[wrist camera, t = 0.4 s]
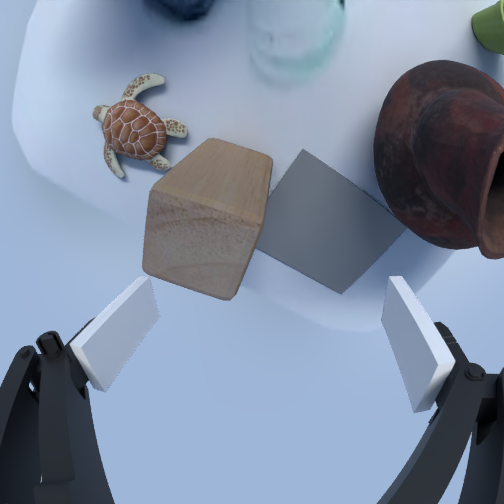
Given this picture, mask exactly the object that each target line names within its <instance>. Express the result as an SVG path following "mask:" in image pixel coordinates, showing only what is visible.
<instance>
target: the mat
mask: <svg viewBox="0 0 504 504" xmlns="http://www.w3.org/2000/svg"><path fill="white" fill-rule="evenodd" d="M406 228H407V227H406V226H405V225H404V224H403V223H402V222H400V221H399V220H398V219H397V218H396V217H394V216H393V215H392V214H391V213H390V212H388V211H387V210H386V209H385V208H384V207H382V206H381V205H380V204H379V203H377V202H376V201H375V200H374V199H372V198H371V197H370V196H368V195H367V194H366V193H365V192H363V191H362V190H361V189H359V188H358V187H357V186H355V185H354V184H353V183H351V182H350V181H349V180H347V179H346V178H345V177H343V176H342V175H340V174H339V173H338V172H336V171H335V170H333V169H332V168H330V167H329V166H328V165H326V164H325V163H323V162H322V161H320V160H319V159H317V158H316V157H314V156H313V155H311V154H310V153H308V152H307V151H305V150H304V149H302V151H301V152H300V154H299V155H298V156H297V158H296V159H295V161H294V162H293V164H292V165H291V166H290V168H289V169H288V171H287V172H286V174H285V175H284V176H283V178H282V179H281V181H280V182H279V184H278V185H277V187H276V188H275V189H274V191H273V192H272V194H271V195H270V197H269V198H268V200H267V207H266V214H265V221H264V227H263V230H262V233H261V235H260V238H259V240H258V242H257V245H256V247H255V248H257V249H259V250H261V251H263V252H265V253H267V254H268V255H270V256H272V257H274V258H276V259H278V260H279V261H281V262H283V263H285V264H287V265H289V266H290V267H292V268H294V269H296V270H298V271H300V272H301V273H303V274H305V275H307V276H309V277H311V278H312V279H314V280H316V281H318V282H320V283H321V284H323V285H325V286H327V287H329V288H331V289H332V290H334V291H336V292H338V293H340V294H342V293H343V292H344V291H345V290H346V289H347V288H348V287H350V286H351V285H352V284H353V283H354V282H355V281H356V280H357V279H358V278H359V277H360V276H361V275H362V274H363V273H364V272H365V271H366V270H367V269H368V268H369V267H370V266H371V265H372V264H373V263H374V262H375V261H376V260H377V259H378V258H379V257H380V256H381V255H382V254H383V253H384V252H385V251H386V250H387V249H388V248H389V247H390V246H391V245H392V244H393V242H394V241H395V240H396V239H397V238H398V237H399V236H400V235H401V234H402V233H403V232H404V231H405V230H406Z"/></svg>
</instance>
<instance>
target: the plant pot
mask: <svg viewBox="0 0 504 504" xmlns="http://www.w3.org/2000/svg"><path fill="white" fill-rule="evenodd" d="M472 27H473V31H474V33H475V35H476V37H477V39H478V40H479V42H480V43H481V44H482V45H483V46H484V47H485V48H487V49H488V50H490V51H492V52H495V53H499V54H502V55H504V0H500V1H498V2H497V3H496V4H495V5H492V6H490V7H488V8H486V9H484V10H482V11H480V12H478V13H476V14H474V16H473V17H472Z"/></svg>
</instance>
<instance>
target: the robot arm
mask: <svg viewBox="0 0 504 504" xmlns="http://www.w3.org/2000/svg"><path fill="white" fill-rule="evenodd" d="M159 317H160V315H159V311H158V308H157V304H156V300H155V296H154V293H153V289H152V285H151V281H150V277H138V278H137V279H136V280H135V281H133V283H131V284H130V285H129V286H128V287H127V288H126V289H125V290H124V291H123V292H122V293H121V294H120V295H119V296H118V297H116V298H115V299H114V300H113V301H112V302H111V303H110V304H109V305H108V306H107V307H106V308H105V309H104V310H103V311H102V312H101V313H100V314H99V315H98V316H97V317H95V318H93V319H92V320H90V321H89V322H88V323H87V324H86V325H85V326H84V328H82V329H81V330H80V332H78V333H77V334H76V335H75V336H74V337H73V338H72V339H71V340H70V341H69V342H68V343H67V344H66V345H65V346H64V344H63V342H62V340H61V339H60V336H59V334H58V333H57V332H56V331H49V332H46V333H44V334H42V335H41V336H40V337H39V338H38V339H37V341H36V344H37V346H38V348H39V349H40V351H41V353H42V354H37V352H36V350H35V348H34V347H33V346H30V345H29V346H24V347H22V348H21V349H20V350H19V351H18V352H17V353H16V355H15V357H14V359H13V361H12V363H11V365H10V367H9V370H8V372H7V374H6V376H5V378H4V380H3V382H2V384H1V387H0V504H115V503H114V500H113V497H112V494H111V492H110V488H109V485H108V482H107V479H106V475H105V472H104V468H103V464H102V461H101V457H100V453H99V448H98V445H97V439H96V435H95V430H94V424H93V419H92V413H91V406H90V399H89V393H88V388H87V386H86V383H87V381H88V380H89V381H90V383H91V384H92V386H93V388H94V389H97V390H100V391H103V392H106V391H107V390H108V388H109V386H110V385H111V384H112V382H113V381H114V380H115V378H116V377H117V375H118V374H119V372H120V371H121V370H122V368H123V367H124V365H125V364H126V363H127V361H128V360H129V358H130V357H131V356H132V354H133V353H134V351H135V350H136V349H137V347H138V346H139V344H140V343H141V342H142V340H143V339H144V338H145V336H146V335H147V333H148V332H149V331H150V329H151V328H152V327H153V325H154V324H155V323H156V321H157V320H158V319H159ZM381 321H382V324H383V326H384V328H385V331H386V333H387V336H388V339H389V341H390V344H391V346H392V349H393V352H394V354H395V357H396V360H397V363H398V366H399V369H400V371H401V374H402V377H403V380H404V383H405V386H406V389H407V392H408V396H409V399H410V402H411V405H412V409H413V412H414V413H416V412H422V411H426V410H430V409H431V407H432V405H433V403H434V402H435V401H436V404H437V406H438V409H437V410H436V412H435V413H434V415H433V416H432V418H431V419H430V421H429V425H428V427H427V429H426V431H425V433H424V435H423V436H422V438H421V440H420V442H419V443H418V445H417V447H416V449H415V450H414V452H413V454H412V455H411V457H410V458H409V460H408V461H407V463H406V465H405V466H404V468H403V469H402V471H401V472H400V473H399V475H398V476H397V478H396V479H395V481H394V482H393V483H392V485H391V486H390V487H389V489H388V490H387V491H386V493H385V494H384V495H383V496H382V498H381V499H380V500H379V501H378V503H377V504H438V502H439V500H440V499H441V497H442V495H443V494H444V492H445V490H446V488H447V486H448V484H449V482H450V480H451V478H452V476H453V474H454V472H455V470H456V468H457V466H458V464H459V462H460V459H461V457H462V455H463V452H464V450H465V448H466V445H467V442H468V440H469V437H470V434H471V432H472V438H471V446H470V453H469V459H468V465H467V469H466V475H465V479H464V483H463V487H462V491H461V495H460V499H459V502H458V504H504V368H503V369H502V371H501V373H500V374H486V372H485V370H484V369H483V368H482V367H481V366H479V365H477V364H475V363H469V361H468V359H467V358H466V356H465V354H464V353H463V351H462V349H461V348H460V346H459V344H458V343H456V340H455V338H454V337H453V335H452V333H451V332H450V330H449V329H448V328H447V327H446V326H445V325H444V324H442V323H441V322H435V323H433V322H432V320H431V319H430V317H429V315H428V314H427V312H426V311H425V309H424V308H423V306H422V305H421V303H420V302H419V300H418V299H417V297H416V296H415V294H414V293H413V291H412V290H411V288H410V287H409V286H408V284H407V283H406V281H405V280H404V278H403V277H402V276H389V278H388V284H387V291H386V297H385V302H384V308H383V313H382V318H381ZM30 382H31V384H32V385H33V387H34V390H33V391H32V390H31V389H30V388H29V383H30ZM41 475H42V482H41ZM40 483H41V484H40Z"/></svg>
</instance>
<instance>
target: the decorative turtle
mask: <svg viewBox="0 0 504 504" xmlns="http://www.w3.org/2000/svg"><path fill="white" fill-rule="evenodd" d="M165 81H166V79H165V78H164V77H163V76H161V75H158V74H152V73H148V74H143V75H141V76H139V77H137V78H136V79H134V80H133V81H132V82H131V83H130V84H129V85H128V87H127V88H126V90H125V91H124V93H123V97H122V101H121V102H119V103H117V104H115V105H114V106H112V107H109V106H105V105H99V106H96V107H95V108H94V110H93V118H94V119H96V120H97V121H99V122H102V123H103V124H102V130H103V134H104V138H105V144H104V159H105V161H106V163H107V165H108V167H109V168H110V169H111V171H112V172H113V173H114V174H115V175H117V176H118V177H120V178H123V177H124V172H123V171H122V169H121V168H120V166H119V163H118V161H117V158H116V155H115V152H116V153H118V154H120V155H125V156H126V157H129V158H134V159H139V160H147V162H148V163H149V164H150V165H151V166H152V167H154V168H156V169H158V170H163V171H165V170H168V169H170V167H171V163H170V162H169V161H168V160H167V159H165V158H164V157H162V156H161V155H160V154H159V152H161V151H162V150H163V149H164V146H165V144H166V140H167V138H166V135H171V136H175V137H178V138H185V137H186V136H187V132H188V131H187V128H186V126H185V125H184V124H183V123H182V122H181V121H179V120H177V119H173V118H166V119H160V118H159V117H158V116H157V115H156V114H155V113H154V112H153V111H151V110H150V109H149V108H147V107H146V106H144V105H143V104H141V103H139V102H137V101H136V100H135V98H136V96H137V95H138V94H139V93H140V92H142V91H143V90H145V89H148V88H150V87H153V86H158V85H163V84H164V83H165Z"/></svg>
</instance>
